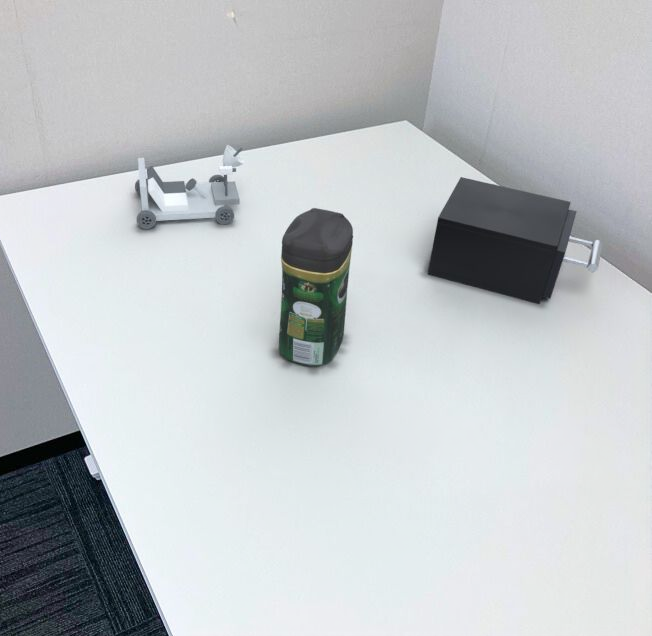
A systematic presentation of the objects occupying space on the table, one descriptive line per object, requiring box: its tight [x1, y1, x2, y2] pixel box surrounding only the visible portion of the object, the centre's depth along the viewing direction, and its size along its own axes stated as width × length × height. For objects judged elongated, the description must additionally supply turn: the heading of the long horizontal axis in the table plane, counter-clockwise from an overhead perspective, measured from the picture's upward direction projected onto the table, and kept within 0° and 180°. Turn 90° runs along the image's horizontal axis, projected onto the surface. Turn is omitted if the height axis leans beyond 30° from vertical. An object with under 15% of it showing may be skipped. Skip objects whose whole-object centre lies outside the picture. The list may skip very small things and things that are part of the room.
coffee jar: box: [278, 207, 354, 367], centre depth 93 cm, size 10×8×19 cm
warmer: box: [427, 176, 571, 305], centre depth 112 cm, size 17×14×10 cm
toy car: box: [134, 144, 245, 230], centre depth 121 cm, size 18×10×12 cm
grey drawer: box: [542, 209, 604, 300], centre depth 111 cm, size 20×13×8 cm, turn 67°
